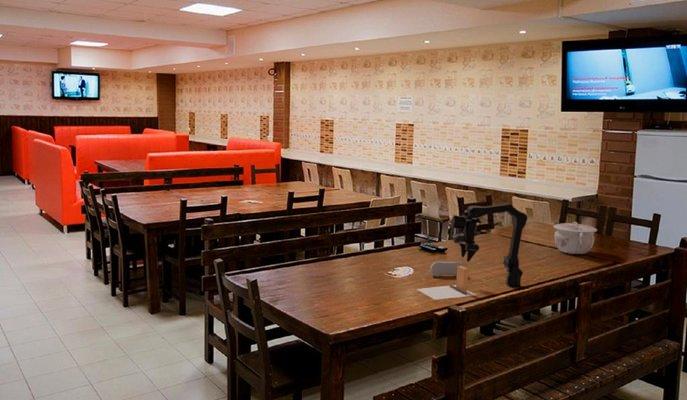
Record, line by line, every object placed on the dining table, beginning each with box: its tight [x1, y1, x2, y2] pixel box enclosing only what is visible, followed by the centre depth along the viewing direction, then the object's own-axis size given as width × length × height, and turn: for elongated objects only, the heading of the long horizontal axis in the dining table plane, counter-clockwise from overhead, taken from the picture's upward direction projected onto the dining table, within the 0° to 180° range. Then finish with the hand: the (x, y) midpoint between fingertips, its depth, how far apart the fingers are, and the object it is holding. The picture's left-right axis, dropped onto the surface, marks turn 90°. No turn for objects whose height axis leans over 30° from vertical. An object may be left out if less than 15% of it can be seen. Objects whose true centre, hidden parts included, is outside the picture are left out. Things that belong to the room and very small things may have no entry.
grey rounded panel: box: [429, 261, 465, 278], centre depth 335 cm, size 20×2×8 cm, turn 96°
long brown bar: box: [448, 284, 467, 295], centre depth 308 cm, size 1×14×1 cm, turn 23°
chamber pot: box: [552, 221, 598, 255], centre depth 400 cm, size 28×28×21 cm
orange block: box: [455, 266, 469, 292], centre depth 308 cm, size 3×6×12 cm, turn 23°
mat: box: [416, 284, 476, 301], centre depth 305 cm, size 24×18×1 cm
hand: (465, 259), depth 316 cm, fingers open, 9 cm apart
